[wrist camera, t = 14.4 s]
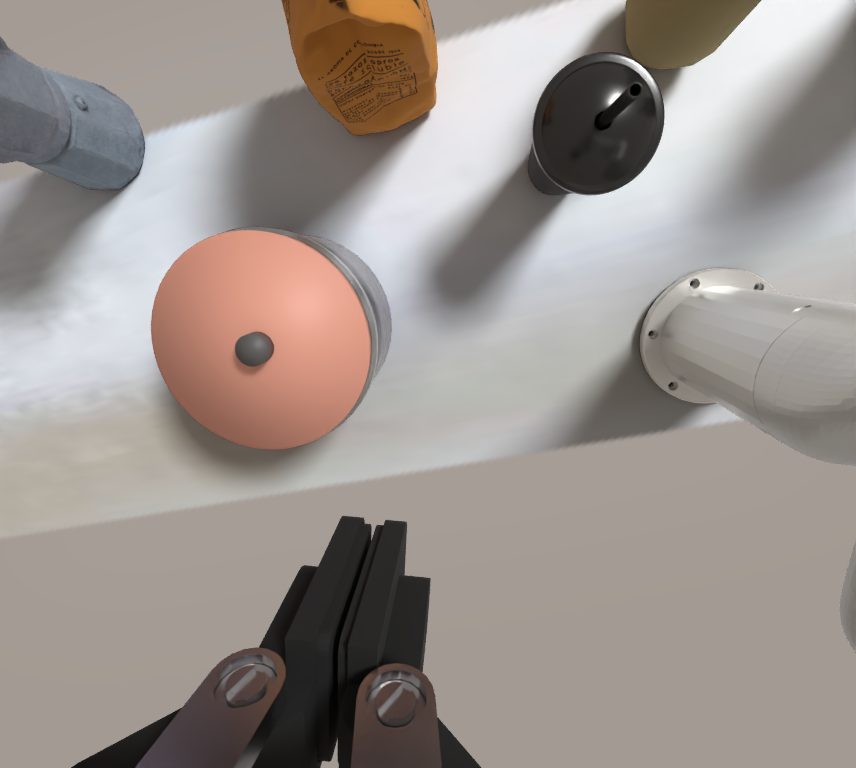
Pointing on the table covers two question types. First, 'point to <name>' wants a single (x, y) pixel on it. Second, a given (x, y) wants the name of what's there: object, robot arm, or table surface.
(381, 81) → the coffee package
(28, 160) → the moka pot
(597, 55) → the drinking cup
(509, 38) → the table surface
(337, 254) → the cooker pot
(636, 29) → the squeeze bottle
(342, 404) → the lid
